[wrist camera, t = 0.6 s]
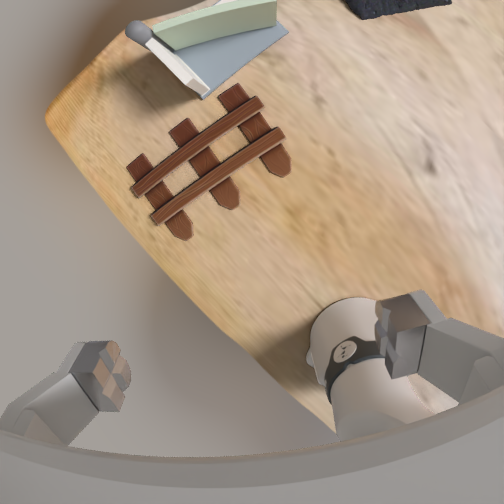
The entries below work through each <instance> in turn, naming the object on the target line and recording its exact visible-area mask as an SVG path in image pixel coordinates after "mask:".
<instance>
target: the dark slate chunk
mask: <svg viewBox="0 0 504 504" xmlns="http://www.w3.org/2000/svg"><path fill="white" fill-rule="evenodd" d="M345 1H346V2H347V3H348V4H349V7H350V9H351V10H353V11H354V13H356V14H357V15H359V16H361V19H362V20H366V19H374V18H377V17H380V16H381V15H393V14H395V13H402V12H408V11H413V10H419V9H425V8H429V7H434V6H445V5H450V4H452V1H451V0H345Z"/></svg>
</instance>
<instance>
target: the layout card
mask: <svg viewBox="0 0 504 504" xmlns="http://www.w3.org/2000/svg"><path fill="white" fill-rule="evenodd" d="M231 1H236V0H220V1H218V2H217V3H215V4H214V5H213V6H215V5H219V4H223V3H227V2H231ZM288 33H289V31H288V30H287V29H285V28H284V27H283V26H282V25H281V24H280V23H279V22H278V21H277V20H276V26H271V27H266V28H261V29H255V30H251V31H246V32H241V33H237V34H233V35H228V36H224V37H220V38H217V39H213V40H209V41H205V42H202V43H198V44H195V45H192V46H188V47H185V48H182V49H179V50H176V51H175V50H174V49H173V54H174V55H175V56H176V57H177V58H178V59H179V60H180V61H181V62H182V63H183V64H184V65H185V66H186V67H187V68H188V69H189V70H190V71H191V72H192V73H193V74H194V75H195V76H196V77H197V78H198V79H199V80H200V81H201V82H202V83H203V84H204V85H205V86H206V87H207V88H208V89H209V90H208V91H207V92H206V93H204V94H203V95H201V94H200V93H198V92H196V91H195V92H196V93H197V94H198V95H199V96H200V97H201V98H202V99H203V100H204V99H205V98H206V97H207V96H208V95H210V94H211V93H212V92H213V91H214V90H215V89H217V88H218V87H219V86H220V85H221V84H222V83H224V82H225V81H226V80H227V79H228V78H230V77H231V76H232V75H233V74H235V73H236V72H237V71H238V70H240V69H241V68H242V67H243V66H245V65H246V64H247V63H248V62H250V61H251V60H252V59H254V58H255V57H256V56H257V55H259V54H260V53H261V52H263V51H264V50H265V49H267V48H268V47H270V46H271V45H272V44H274V43H275V42H276V41H278V40H279V39H281V38H282V37H283V36H285V35H286V34H288Z"/></svg>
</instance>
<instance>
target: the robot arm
mask: <svg viewBox="0 0 504 504" xmlns="http://www.w3.org/2000/svg"><path fill="white" fill-rule="evenodd" d="M310 342H311V344H310V349H309V351H308V353H307V355H306V361H307V363H308V364H309V365H310V366H312V367H313V368H314V369H315V372H316V376H317V380H318V383H319V384H320V385H323V386H324V387H325V391H326V394H327V397H328V400H329V402H330V404H331V405H332V409H333V415H334V421H335V427H336V433H337V436H338V438H339V440H340V442H336V443H331V444H326V445H320V446H315V447H309V448H303V449H296V450H289V451H281V452H273V453H265V454H253V455H241V456H226V457H225V456H224V457H157V456H141V455H128V454H118V453H109V452H101V451H94V450H87V449H81V448H75V447H69V446H68V445H69V444H70V443H71V442H72V441H73V440H74V439H75V438H76V436H77V435H78V434H79V433H80V432H81V431H82V430H83V429H84V428H85V427H86V426H87V425H88V424H89V423H90V422H91V421H92V419H93V418H94V417H95V416H96V415H97V414H98V413H99V412H98V411H107V412H120V409H121V406H122V404H123V401H124V398H125V396H124V393H123V391H124V390H126V389H127V388H128V387H129V385H130V382H131V370H130V367H129V365H128V363H127V361H126V360H125V359H124V358H123V357H121V356H120V348H119V346H118V345H117V343H116V342H114V341H89V342H77V343H75V344H74V345H73V347H72V348H71V350H70V351H69V353H68V355H67V356H66V358H65V359H64V361H63V363H62V364H61V366H60V367H59V369H58V371H57V372H56V373H52V374H51V375H49V376H48V377H46V378H45V379H44V380H42V381H41V382H39V383H38V384H37V385H35V386H34V387H33V388H31V389H30V390H28V391H27V392H25V393H24V394H23V395H21V396H20V397H18V398H17V399H16V400H14V401H13V402H11V403H10V404H9V405H8V406H7V408H6V410H5V411H4V413H3V415H2V416H1V418H0V504H504V338H501V337H499V336H496V335H494V334H491V333H489V332H486V331H484V330H481V329H479V328H476V327H473V326H471V325H468V324H466V323H463V322H461V321H458V320H456V319H453V318H449V319H447V318H446V317H445V316H444V314H443V313H442V312H441V311H440V309H439V308H438V307H437V306H436V305H435V303H434V302H433V301H432V300H431V298H430V297H429V296H428V295H427V294H426V292H425V291H424V290H417V291H414V292H410V293H407V294H405V295H401V296H397V297H392V298H388V299H384V300H380V301H375V300H371V299H368V298H360V297H355V298H348V299H344V300H341V301H338V302H336V303H334V304H332V305H331V306H329V307H328V308H326V309H325V310H324V311H323V312H322V313H321V314H320V315H319V316H318V317H317V319H316V320H315V322H314V324H313V326H312V329H311V335H310ZM415 373H418V375H420V376H421V377H423V378H424V379H426V380H427V381H429V382H430V383H432V384H433V385H434V386H436V387H437V388H439V389H440V390H442V391H443V392H445V393H446V394H448V395H449V396H451V397H452V398H453V399H455V400H456V401H458V402H459V404H458V406H456V407H454V408H451V409H448V410H446V411H443V412H441V413H438V414H435V413H434V412H432V411H431V410H429V409H428V408H427V407H425V406H424V404H423V403H422V402H421V401H420V399H419V398H418V396H417V394H416V393H415V391H414V389H413V387H412V386H411V384H410V382H409V380H408V378H407V377H408V376H409V375H411V374H415Z"/></svg>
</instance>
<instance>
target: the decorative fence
mask: <svg viewBox="0 0 504 504" xmlns="http://www.w3.org/2000/svg"><path fill="white" fill-rule="evenodd" d="M218 97H219V99H220V100H221V102H222V103H223V104H224V106H225V107H226V108H227V110H228V111H229V113H228V114H227V115H225V116H224V117H222V118H221V119H219V120H218V121H216V122H215V123H213V124H212V125H211V126H209V127H208V128H206V129H205V130H204V131H202V132H201V133H199V132H198V130H197V129H196V127H195V126H194V125H193V123H192V122H191V120H190V119H189V118H186V119H185V120H184V121H182V122H181V123H180V124H178V125H177V126H176V127H175V128H173V129H172V130H171V131H170V132H169V133H170V134H171V135H172V137H173V138H174V140H175V141H176V143H177V144H178V145H179V147H180V148H179V149H178V150H176V151H175V152H174V153H173V154H171V155H170V156H169V157H167V158H166V159H165V160H164V161H162V162H161V163H160V164H158V165H157V166H156V167H155V168H153V166H152V165H151V163H150V162H149V161H148V159H147V158H146V156H145V155H144V154H143V153H142V154H141V155H140V156H138V157H137V158H136V159H135V160H134V161H133V162H131V163H130V164H129V165H128V166H127V169H128V170H129V172H130V173H131V175H132V176H133V178H134V179H135V181H136V183H135V184H134V185H133V186H132V190H133V191H134V193H135V194H136V195H137V197H138V198H140V197H142V196H143V195H144V194H145V195H146V196H147V198H148V199H149V201H150V202H151V204H152V205H153V206H154V208H155V209H156V211H155V212H154V213H152V214H151V217H152V218H153V220H154V221H155V222H156V224H157V225H158V226H160V225H161V224H163V223H164V222H165V223H166V225H167V226H168V227H169V229H170V230H171V231H172V233H173V234H174V236H176V237H178V238H180V239H183V240H185V241H187V240H189V239H190V238H192V237H193V236H194V234H193V223H192V222H191V220H190V219H189V217H188V216H187V215H186V213H185V212H184V210H183V208H184V207H186V206H187V205H189V204H190V203H191V202H193V201H194V200H196V199H197V198H198V197H200V196H201V195H203V194H204V193H206V192H207V191H208V190H210V191H211V193H212V194H213V195H214V197H215V198H216V200H217V201H218V203H219V204H220V205H222V206H224V207H226V208H229V209H231V210H234V209H235V208H237V207H238V206H240V191H239V189H238V188H237V186H236V185H235V183H234V182H233V180H232V179H231V178H230V175H232V174H233V173H235V172H236V171H238V170H239V169H241V168H242V167H244V166H245V165H247V164H248V163H250V162H251V161H253V160H254V159H256V158H258V157H259V156H260V157H261V159H262V160H263V162H264V163H265V165H266V166H267V167H268V169H269V170H270V172H272V173H274V174H276V175H279V176H281V177H285V176H287V175H288V174H290V173H291V158H290V156H289V155H288V153H287V151H286V150H285V148H284V147H283V145H282V144H281V142H283V141H284V140H286V137H285V135H284V134H283V132H282V131H281V129H280V128H279V127H275V128H274V129H271V128H270V126H269V125H268V123H267V122H266V121H265V119H264V118H263V116H262V115H261V113H260V112H259V111H261V110H263V109H264V108H265V106H264V105H263V103H262V102H261V101H260V99H259V98H258V96H254V97H252V98H251V99H250V98H249V97H248V95H247V94H246V92H245V91H244V90H243V88H242V87H241V86H240V84H239V83H237V84H235V85H234V86H232V87H231V88H229V89H228V90H226V91H225V92H223V93H222V94H220V95H219V96H218ZM238 125H239V127H240V128H241V130H242V131H243V132H244V134H245V135H246V137H247V138H248V140H249V141H250V144H249V145H247V146H246V147H244V148H243V149H241V150H240V151H238V152H237V153H235V154H234V155H232V156H231V157H229V158H228V159H227V160H225V161H224V162H222V163H220V162H219V160H218V159H217V157H216V156H215V154H214V153H213V152H212V150H211V149H210V147H209V145H210V144H212V143H213V142H214V141H216V140H217V139H219V138H220V137H222V136H223V135H225V134H226V133H228V132H229V131H230V130H232V129H233V128H235V127H236V126H238ZM188 160H189V161H190V163H191V164H192V165H193V167H194V168H195V170H196V171H197V173H198V174H199V175H200V177H201V178H199V179H198V180H197V181H195V182H194V183H192V184H191V185H190V186H188V187H187V188H185V189H184V190H183V191H181V192H180V193H179V194H177V195H176V196H175V197H174V196H173V195H172V194H171V192H170V191H169V189H168V188H167V186H166V185H165V184H164V182H163V181H162V180H163V179H164V178H166V177H167V176H168V175H169V174H171V173H172V172H173V171H175V170H176V169H177V168H179V167H180V166H181V165H183V164H184V163H185V162H187V161H188Z"/></svg>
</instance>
